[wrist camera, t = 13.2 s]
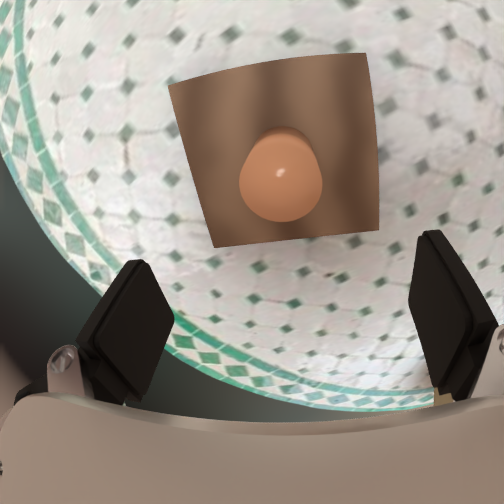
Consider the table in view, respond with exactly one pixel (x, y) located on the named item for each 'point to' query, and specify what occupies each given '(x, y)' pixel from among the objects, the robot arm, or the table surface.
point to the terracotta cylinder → (281, 175)
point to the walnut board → (291, 115)
